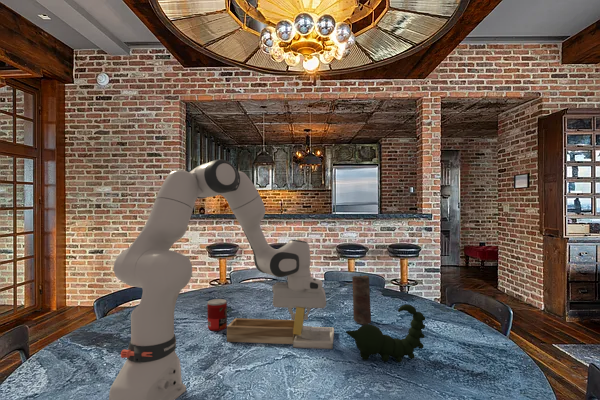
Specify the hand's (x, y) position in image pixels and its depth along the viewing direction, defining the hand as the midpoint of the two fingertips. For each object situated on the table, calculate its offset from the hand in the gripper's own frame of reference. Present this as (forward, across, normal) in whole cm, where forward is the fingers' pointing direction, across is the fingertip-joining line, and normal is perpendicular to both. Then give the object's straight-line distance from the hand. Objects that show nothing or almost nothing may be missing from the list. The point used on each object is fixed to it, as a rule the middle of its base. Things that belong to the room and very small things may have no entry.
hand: (299, 319), depth 133 cm
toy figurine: (+8, +30, -14) cm, 34 cm away
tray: (+8, +6, 0) cm, 9 cm away
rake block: (+5, -1, 0) cm, 5 cm away
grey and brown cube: (+5, +8, 0) cm, 10 cm away
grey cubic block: (+7, +2, 0) cm, 7 cm away
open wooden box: (+8, -14, 0) cm, 16 cm away
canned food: (+8, -36, +9) cm, 38 cm away
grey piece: (+7, +6, 0) cm, 9 cm away
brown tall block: (+8, +24, +21) cm, 33 cm away
